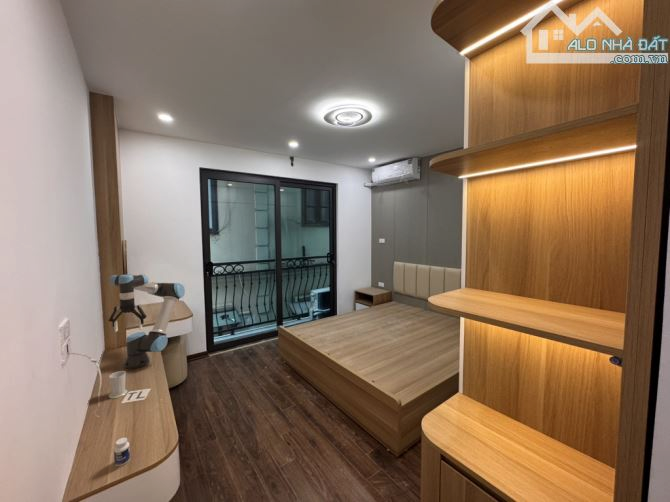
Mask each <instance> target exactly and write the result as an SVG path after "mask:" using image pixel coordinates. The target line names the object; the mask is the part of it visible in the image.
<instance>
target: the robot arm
mask: <svg viewBox="0 0 670 502" xmlns="http://www.w3.org/2000/svg"><path fill="white" fill-rule="evenodd" d="M109 283H110V285H111V286H112V287H119V306H118V305H116V306H114V308H113V311H112V314H111V315H110V317H109V319H108V322H111V323H112V327H113V328H114V333H117V332H118V331H119V328H118V327H119V326H118V319H119V318H120V316H121V315H122V314H123V313H124V314H127V313H128V314H130V313H132V314H133V315H134V316H136V317H137V318H138V325H139V331H140V332H134V333H132V334H130V335H128V336H127V337H126V343H125V344H126V345H125V346H126V355H127V356H126V359H125V362H124V368H125V369H127V370H134V369H139V368H143V367H145V366H147V365H148V364H149V363H150V357H149V355H148V353H160V352H162V351H163V350H164V349H165V348H166V346H167V345H168V342H169V341H168V340H169V339H168V336H167V332H166V330H167V328H168V325H169V322H170V320H171V317H172V314H173V312H174V309H175V306H176V303H177V302H179V301H180V299H181V298H183V297H184V296H185V294H186V291H185V290H186V289H185V286H184V285H183V283H179V282H178V283H177V282H154V281H153V282H149V277H148V276H147V275H146V274H138V275H137V274H136V275H135V274H134V275H133V274H113V275H111V277H110V278H109ZM135 291H140V292H145V293H147V294H149V295H151V296H157V297H159V298H162V299H163V302H162V304H161V306H160V310H159V312H158V314H157V316H156V320H155V322H154V324H153V327H152V330H150V331H149V332H148V333H147V334H146V332H145V331H141V330H142V329H143V325H144V322H145V321H144V320H145V319H146V318H148V317H147V314H146V313H145V311H144V310H143V308H142V307H141V304H140V303H139V304H137V305H136V304H135ZM136 309H137V310H138V311H137V310H136ZM118 310H120V312H118ZM117 312H118V314H117ZM116 314H117V315H116ZM115 315H116V316H115Z"/></svg>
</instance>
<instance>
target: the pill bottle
mask: <svg viewBox="0 0 670 502" xmlns="http://www.w3.org/2000/svg"><path fill="white" fill-rule="evenodd" d="M130 450H131V449H130V442H129V441H128V438H127V437H121V438H119V439H118V440H116V441H115V447H114V448H113V457H114V458H113V460H114V462H113V463H114V466H115V467H122V466H124V465H126V464H128V462H130V460H131V451H130Z"/></svg>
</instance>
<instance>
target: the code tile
mask: <svg viewBox="0 0 670 502" xmlns="http://www.w3.org/2000/svg"><path fill="white" fill-rule="evenodd" d="M151 389H152V388H145V389H144V388H143V389H136V390H132V391H128V392H127V394H125V395H124V396H125V397H124V398H123V399H122V401H121V403H120V404H124V403H126V404H127V403H130V402H131V403H132V402H137V401H144V400H146V399H147V397H148V395H149V393H150V391H151Z"/></svg>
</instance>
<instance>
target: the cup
mask: <svg viewBox="0 0 670 502" xmlns="http://www.w3.org/2000/svg"><path fill="white" fill-rule="evenodd" d="M126 372H127V371H125V370H120V371H115V372H113V373H111V374H109V378H108V379H109V382H110V389H111V390H110V391H111V393H112V396H119V395H122V394H123V393H125V389H126V375H127V374H126Z"/></svg>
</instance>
